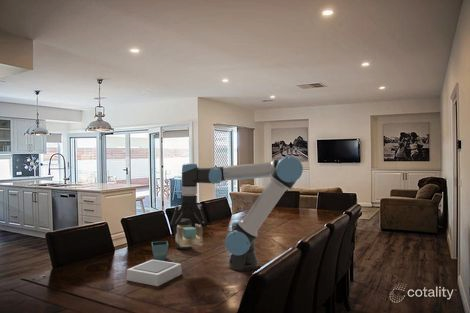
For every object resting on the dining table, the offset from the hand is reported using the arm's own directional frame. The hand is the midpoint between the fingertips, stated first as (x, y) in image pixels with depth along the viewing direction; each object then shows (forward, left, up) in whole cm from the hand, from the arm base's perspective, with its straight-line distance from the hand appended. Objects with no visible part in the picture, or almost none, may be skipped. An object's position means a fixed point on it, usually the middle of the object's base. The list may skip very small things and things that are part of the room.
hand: (188, 239), depth 176 cm
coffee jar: (+30, -38, -17) cm, 51 cm away
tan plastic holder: (0, 0, -2) cm, 2 cm away
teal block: (0, 0, +1) cm, 1 cm away
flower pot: (+28, -12, -17) cm, 35 cm away
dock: (+11, +13, -16) cm, 24 cm away
